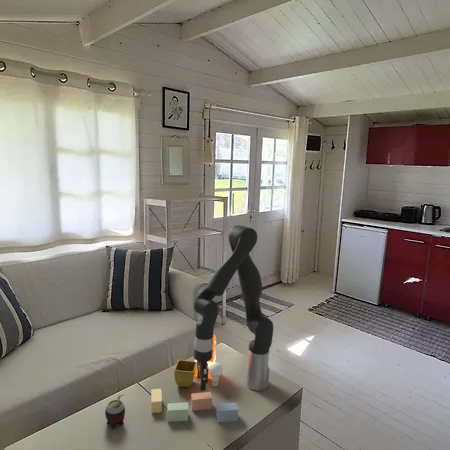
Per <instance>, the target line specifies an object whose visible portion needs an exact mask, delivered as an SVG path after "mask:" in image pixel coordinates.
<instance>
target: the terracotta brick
mask: <svg viewBox="0 0 450 450" xmlns="http://www.w3.org/2000/svg"><path fill="white" fill-rule="evenodd" d="M190 407H191V411H192V412H194V411H204V410H212V409H213V396H212V394H211V391H203V392H195V393H191V394H190Z"/></svg>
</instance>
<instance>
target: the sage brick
mask: <svg viewBox="0 0 450 450" xmlns="http://www.w3.org/2000/svg"><path fill="white" fill-rule="evenodd" d="M166 410H167V413H166V414H167V415H166V420H167V421H166V422H167V423H171V422H172V423H173V422H188V421H189V402H174V403H173V402H172V403H167V409H166Z"/></svg>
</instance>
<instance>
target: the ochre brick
mask: <svg viewBox="0 0 450 450" xmlns="http://www.w3.org/2000/svg"><path fill="white" fill-rule="evenodd" d="M150 392H151V395H150V396H151V397H150V398H151V399H150V400H151V402H150V404H151V405H150V406H151V409H150V410H151V411H150V413H151V414H155V413H162V412H163V410H162V409H163V398H162V395H163V393H162V388H154V389H153V388H152V389H151V391H150Z"/></svg>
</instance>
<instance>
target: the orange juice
mask: <svg viewBox="0 0 450 450" xmlns="http://www.w3.org/2000/svg"><path fill="white" fill-rule="evenodd" d="M216 337H217V336H216V334H213V355H212V359H211V360H210V361H208V362H207V363H208V369H209V366H210V364H211V363H213V362H217V361H216V360H217V357H216V356H217V338H216ZM194 361H195V362H197V360H195V359H194ZM197 373H198V369H197V365H196V371H195V375H194V378H198V377H197ZM208 380H212V378H211V375H210V374H209V371H208Z"/></svg>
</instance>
